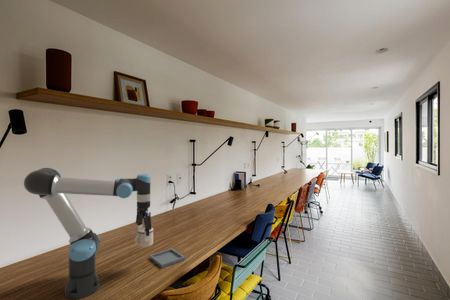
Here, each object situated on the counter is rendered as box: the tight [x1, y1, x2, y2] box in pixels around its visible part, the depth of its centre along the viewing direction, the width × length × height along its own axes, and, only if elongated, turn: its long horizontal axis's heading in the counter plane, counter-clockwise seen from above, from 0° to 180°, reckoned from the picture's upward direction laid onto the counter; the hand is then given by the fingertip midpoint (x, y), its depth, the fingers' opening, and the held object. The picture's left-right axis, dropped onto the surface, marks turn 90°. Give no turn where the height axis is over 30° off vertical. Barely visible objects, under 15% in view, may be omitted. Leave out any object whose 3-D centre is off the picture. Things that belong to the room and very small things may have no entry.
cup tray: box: [149, 248, 186, 269], centre depth 159 cm, size 16×16×2 cm
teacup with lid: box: [134, 224, 154, 248], centre depth 147 cm, size 12×9×12 cm
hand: (143, 238), depth 147 cm, fingers closed on teacup with lid, 9 cm apart
